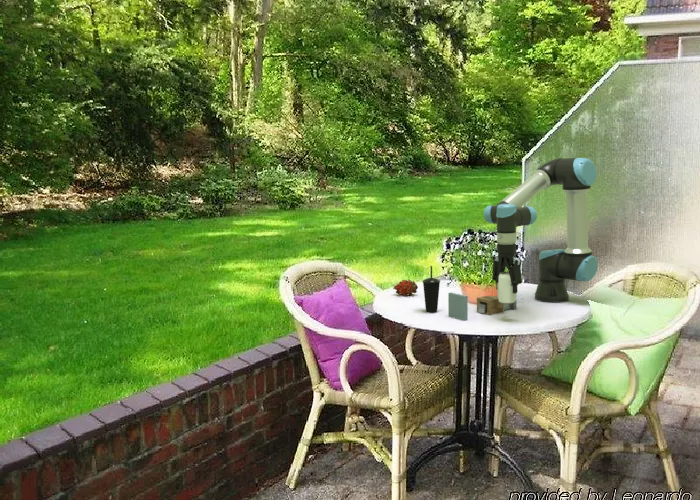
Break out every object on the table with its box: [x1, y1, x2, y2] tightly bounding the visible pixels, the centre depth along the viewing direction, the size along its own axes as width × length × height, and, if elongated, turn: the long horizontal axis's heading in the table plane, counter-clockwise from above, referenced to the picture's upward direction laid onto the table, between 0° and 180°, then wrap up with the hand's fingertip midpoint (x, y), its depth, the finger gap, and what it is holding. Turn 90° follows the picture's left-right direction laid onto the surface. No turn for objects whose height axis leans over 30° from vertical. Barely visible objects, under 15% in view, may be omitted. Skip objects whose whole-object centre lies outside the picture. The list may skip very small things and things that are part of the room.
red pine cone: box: [392, 279, 419, 297], centre depth 338 cm, size 8×8×12 cm
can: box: [499, 271, 515, 304], centre depth 282 cm, size 6×6×12 cm
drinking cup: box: [422, 265, 441, 314], centre depth 301 cm, size 8×8×20 cm
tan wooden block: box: [476, 295, 504, 316], centre depth 299 cm, size 8×8×6 cm
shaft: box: [477, 293, 518, 314], centre depth 301 cm, size 18×6×7 cm, turn 123°
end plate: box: [447, 291, 469, 322], centre depth 289 cm, size 2×10×10 cm, turn 33°
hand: (506, 299), depth 283 cm, fingers closed on can, 6 cm apart
